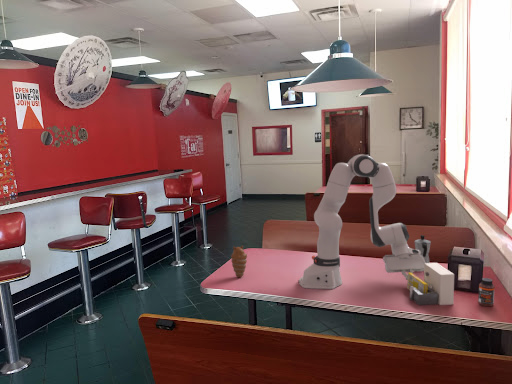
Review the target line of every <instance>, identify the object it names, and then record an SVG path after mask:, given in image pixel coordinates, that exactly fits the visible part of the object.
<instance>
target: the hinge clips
mask: <svg viewBox="0 0 512 384" xmlns="http://www.w3.org/2000/svg"><path fill="white" fill-rule="evenodd" d="M409 300H411V301H413V302H415V304H417V305H418V306H427V305H428V306H429V305H438V303H437V300H438V293H436V292H435V291H434V290H433V286H432V285H430V287H429V286H428V290H427V293H421V292H420V291H419V290H418V289H416V288H415V287H413V286H410V290H409Z"/></svg>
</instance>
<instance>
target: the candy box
mask: <svg viewBox="0 0 512 384" xmlns="http://www.w3.org/2000/svg"><path fill="white" fill-rule="evenodd" d="M407 275H408V280H407V286H406V288H407V290H409V291H410V286H413V287H415V288H416V289H418V290H419V291H420V292H421V293H427V290H428V284H427V283H425V282H424V280H422V279H421V278H420V277H419V276H417V275H415V274H414V273H413V274H412V273H411V272H407Z"/></svg>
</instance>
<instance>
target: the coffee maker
mask: <svg viewBox="0 0 512 384" xmlns="http://www.w3.org/2000/svg"><path fill="white" fill-rule="evenodd" d="M431 242H432V241H431V240H427V239H425V235H423V234H421V235H420V239H416V240H414V248H415V249H416V250H419V251H420V252H421V254H420V255H421V256H423V258H424V260H425V262H426V263H431V262H430V257H429V253H430V248H431Z"/></svg>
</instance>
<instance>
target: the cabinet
mask: <svg viewBox="0 0 512 384" xmlns="http://www.w3.org/2000/svg"><path fill="white" fill-rule="evenodd" d="M423 272H424V273H423V281H424V282H425V283H427V284H428V286H429V287H430V285H432V286H433V290H434V291H435V292H436V293H438V300H437V305H440V306H450V305H454V299H455V298H454V295H455V294H454V293H455V292H454V291H455V274H454V273H453V272H451V271H450V270H449V269H447V268H445V267H444V266H442V265H441V264H440V263H438V262H430V263H424V271H423Z"/></svg>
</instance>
